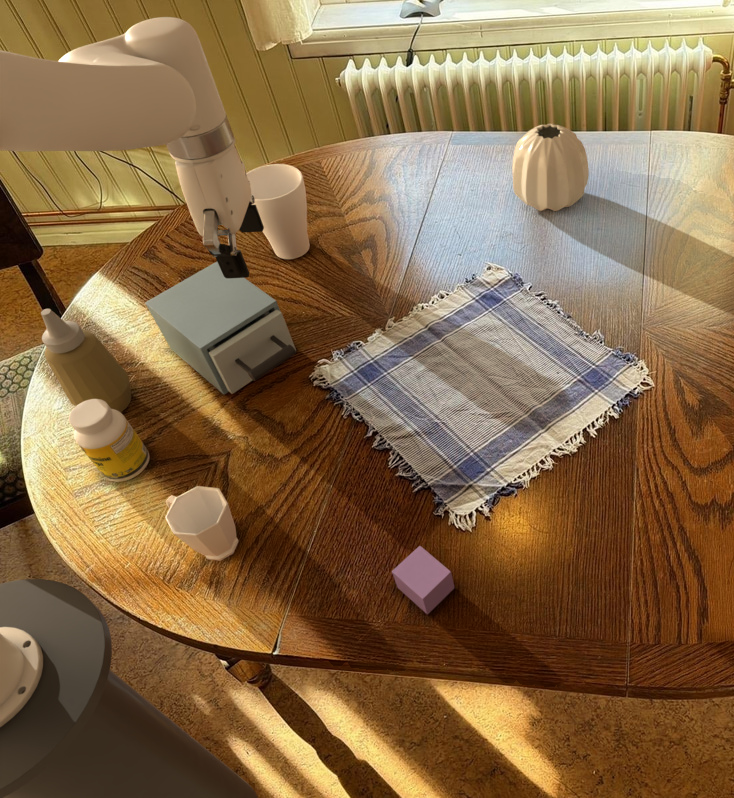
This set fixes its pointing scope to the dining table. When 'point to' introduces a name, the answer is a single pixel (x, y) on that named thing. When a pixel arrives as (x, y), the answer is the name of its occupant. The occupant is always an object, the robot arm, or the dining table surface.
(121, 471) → the pill bottle
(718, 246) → the dining table surface
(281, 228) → the cup
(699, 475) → the dining table surface
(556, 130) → the vase
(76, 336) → the squeeze bottle
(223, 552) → the cup
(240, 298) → the cabinet
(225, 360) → the drawer
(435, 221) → the dining table surface
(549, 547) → the dining table surface
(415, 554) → the cube
